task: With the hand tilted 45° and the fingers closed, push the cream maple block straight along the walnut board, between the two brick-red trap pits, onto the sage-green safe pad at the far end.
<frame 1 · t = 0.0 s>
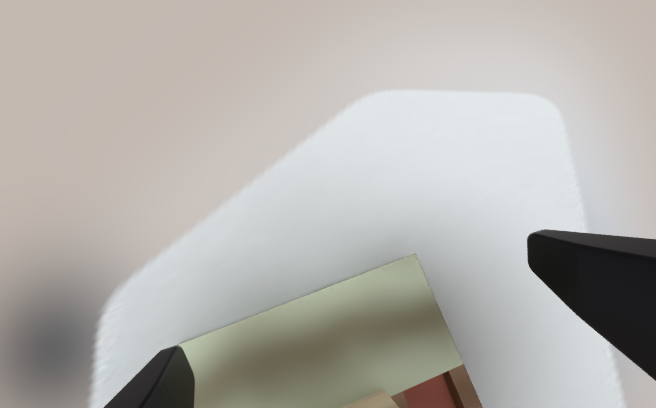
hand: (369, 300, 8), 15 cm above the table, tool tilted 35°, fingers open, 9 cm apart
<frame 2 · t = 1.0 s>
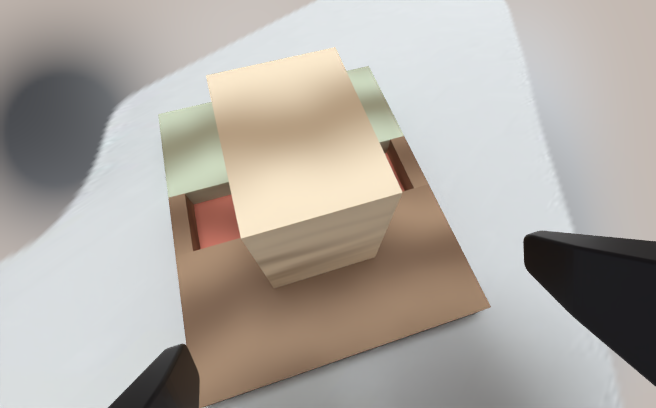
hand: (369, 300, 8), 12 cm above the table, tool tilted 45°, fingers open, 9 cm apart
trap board: (305, 217, 23), on the table
maple block: (306, 211, 21), point 2 cm above the table, touching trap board
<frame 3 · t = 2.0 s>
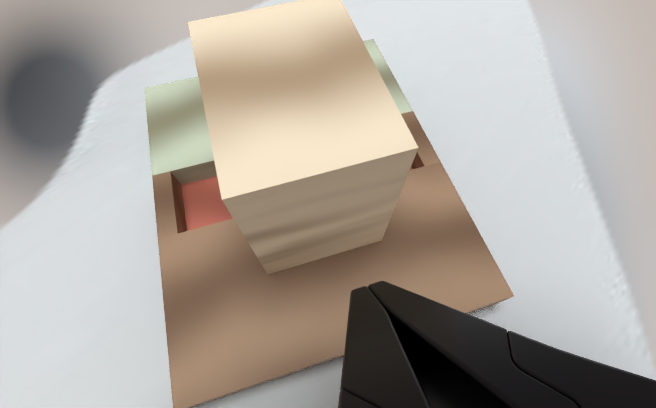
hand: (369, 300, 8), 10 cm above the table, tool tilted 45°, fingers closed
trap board: (304, 199, 21), on the table
maple block: (304, 190, 19), point 2 cm above the table, touching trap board
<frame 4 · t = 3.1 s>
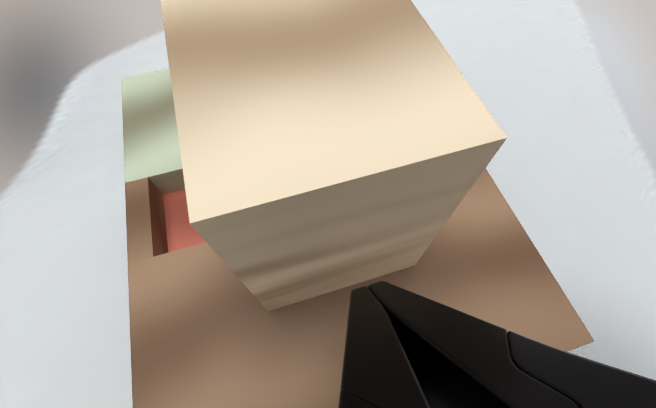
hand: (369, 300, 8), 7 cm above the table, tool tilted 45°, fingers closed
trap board: (313, 211, 17), on the table
maple block: (315, 201, 15), point 2 cm above the table, touching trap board
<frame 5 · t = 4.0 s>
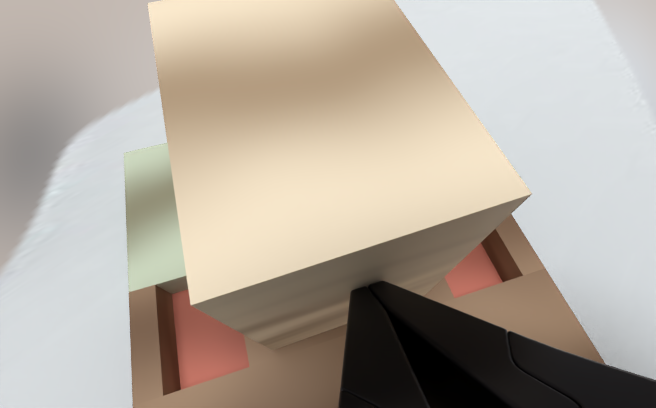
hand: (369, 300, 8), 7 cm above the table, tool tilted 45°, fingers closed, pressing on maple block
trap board: (345, 314, 15), on the table
maple block: (317, 229, 14), point 2 cm above the table, touching gripper, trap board
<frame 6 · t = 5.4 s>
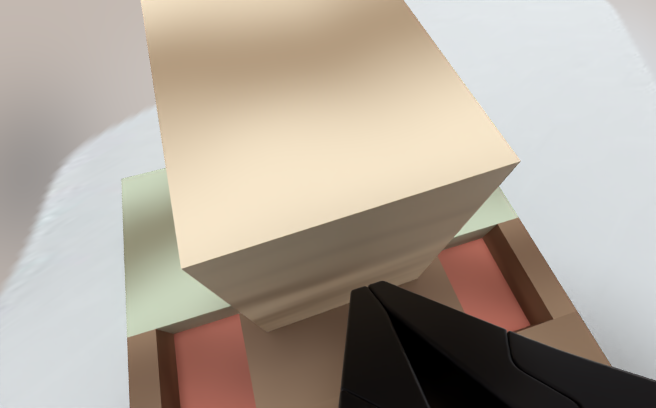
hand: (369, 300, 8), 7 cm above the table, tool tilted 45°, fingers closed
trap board: (360, 355, 14), on the table
maple block: (312, 213, 14), point 2 cm above the table, touching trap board
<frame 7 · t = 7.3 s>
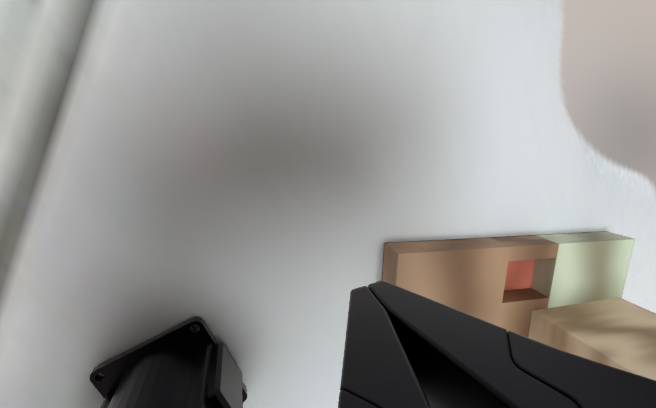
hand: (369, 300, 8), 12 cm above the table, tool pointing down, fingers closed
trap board: (486, 337, 26), on the table
maple block: (570, 340, 25), point 2 cm above the table, touching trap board
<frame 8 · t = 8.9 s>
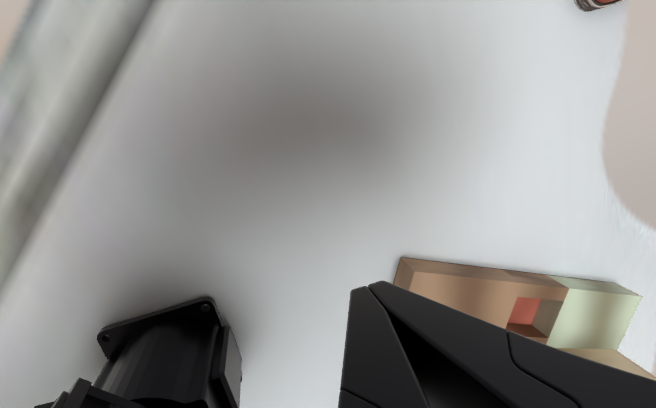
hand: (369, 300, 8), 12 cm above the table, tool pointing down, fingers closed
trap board: (478, 363, 26), on the table
maple block: (559, 381, 26), point 2 cm above the table, touching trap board
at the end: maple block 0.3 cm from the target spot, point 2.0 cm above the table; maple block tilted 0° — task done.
